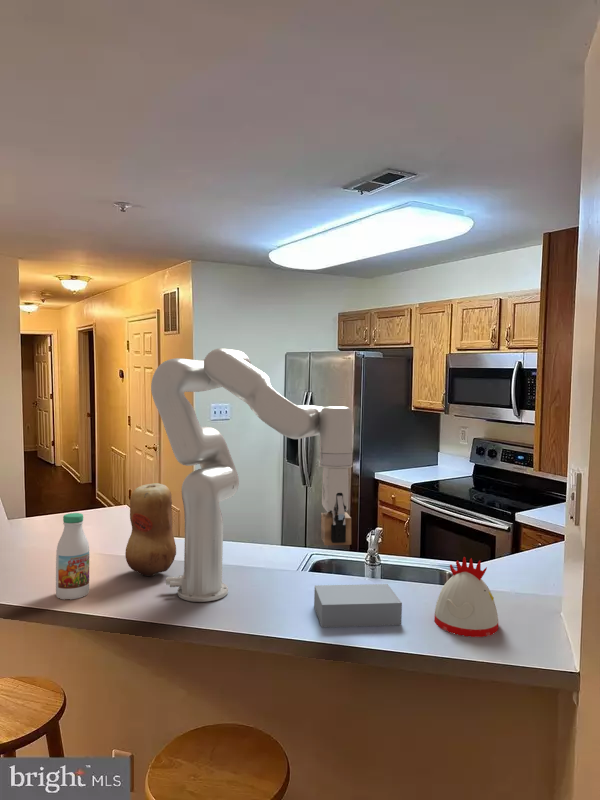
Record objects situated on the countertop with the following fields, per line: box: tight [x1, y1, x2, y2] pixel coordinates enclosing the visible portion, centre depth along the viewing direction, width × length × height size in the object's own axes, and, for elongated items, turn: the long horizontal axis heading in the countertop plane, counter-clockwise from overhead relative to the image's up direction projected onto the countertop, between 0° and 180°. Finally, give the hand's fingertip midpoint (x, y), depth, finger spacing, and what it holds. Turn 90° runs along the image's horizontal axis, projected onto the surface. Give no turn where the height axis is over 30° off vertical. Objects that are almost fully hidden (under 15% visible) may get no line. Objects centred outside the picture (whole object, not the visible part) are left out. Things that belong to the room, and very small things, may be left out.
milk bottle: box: [55, 512, 90, 600], centre depth 140 cm, size 8×8×20 cm
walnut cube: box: [320, 511, 352, 546], centre depth 130 cm, size 6×6×6 cm
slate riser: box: [313, 583, 403, 628], centre depth 132 cm, size 18×12×5 cm, turn 96°
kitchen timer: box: [433, 556, 499, 638], centre depth 128 cm, size 14×14×15 cm
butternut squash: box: [124, 483, 177, 577], centre depth 156 cm, size 14×13×25 cm
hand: (336, 537), depth 130 cm, fingers closed on walnut cube, 6 cm apart
